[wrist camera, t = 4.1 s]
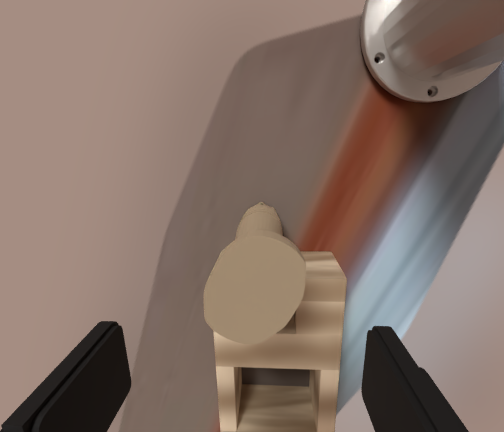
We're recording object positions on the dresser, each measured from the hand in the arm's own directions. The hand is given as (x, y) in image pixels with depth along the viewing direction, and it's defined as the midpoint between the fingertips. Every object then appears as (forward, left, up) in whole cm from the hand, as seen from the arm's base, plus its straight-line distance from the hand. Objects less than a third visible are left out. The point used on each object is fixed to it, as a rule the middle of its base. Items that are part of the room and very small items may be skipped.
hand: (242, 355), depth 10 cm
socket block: (+14, +2, -19) cm, 24 cm away
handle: (0, 0, -19) cm, 19 cm away
